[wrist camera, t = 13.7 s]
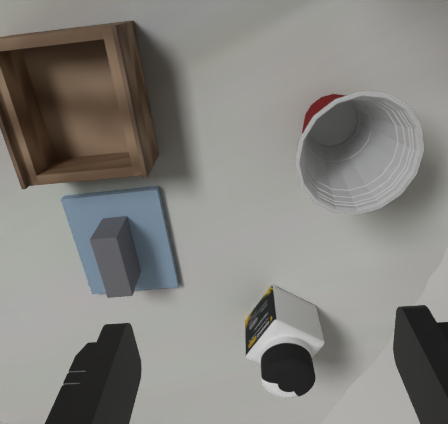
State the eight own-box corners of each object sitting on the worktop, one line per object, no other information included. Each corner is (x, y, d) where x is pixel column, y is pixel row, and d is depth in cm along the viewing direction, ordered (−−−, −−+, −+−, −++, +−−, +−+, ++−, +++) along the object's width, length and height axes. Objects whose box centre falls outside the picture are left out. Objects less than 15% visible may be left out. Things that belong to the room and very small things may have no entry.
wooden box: (7, 35, 43) (-30, 42, 37) (133, 20, 42) (115, 25, 36) (48, 165, 50) (22, 189, 44) (158, 154, 49) (147, 177, 43)
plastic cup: (398, 141, 47) (444, 184, 36) (306, 182, 50) (324, 234, 39) (364, 47, 43) (405, 66, 32) (265, 98, 45) (273, 131, 35)
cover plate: (65, 194, 52) (43, 219, 46) (159, 184, 51) (148, 209, 45) (95, 287, 58) (79, 319, 53) (179, 280, 57) (172, 312, 51)
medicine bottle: (271, 283, 56) (278, 351, 46) (316, 305, 58) (334, 376, 47) (244, 319, 59) (245, 391, 49) (288, 339, 61) (298, 414, 50)
